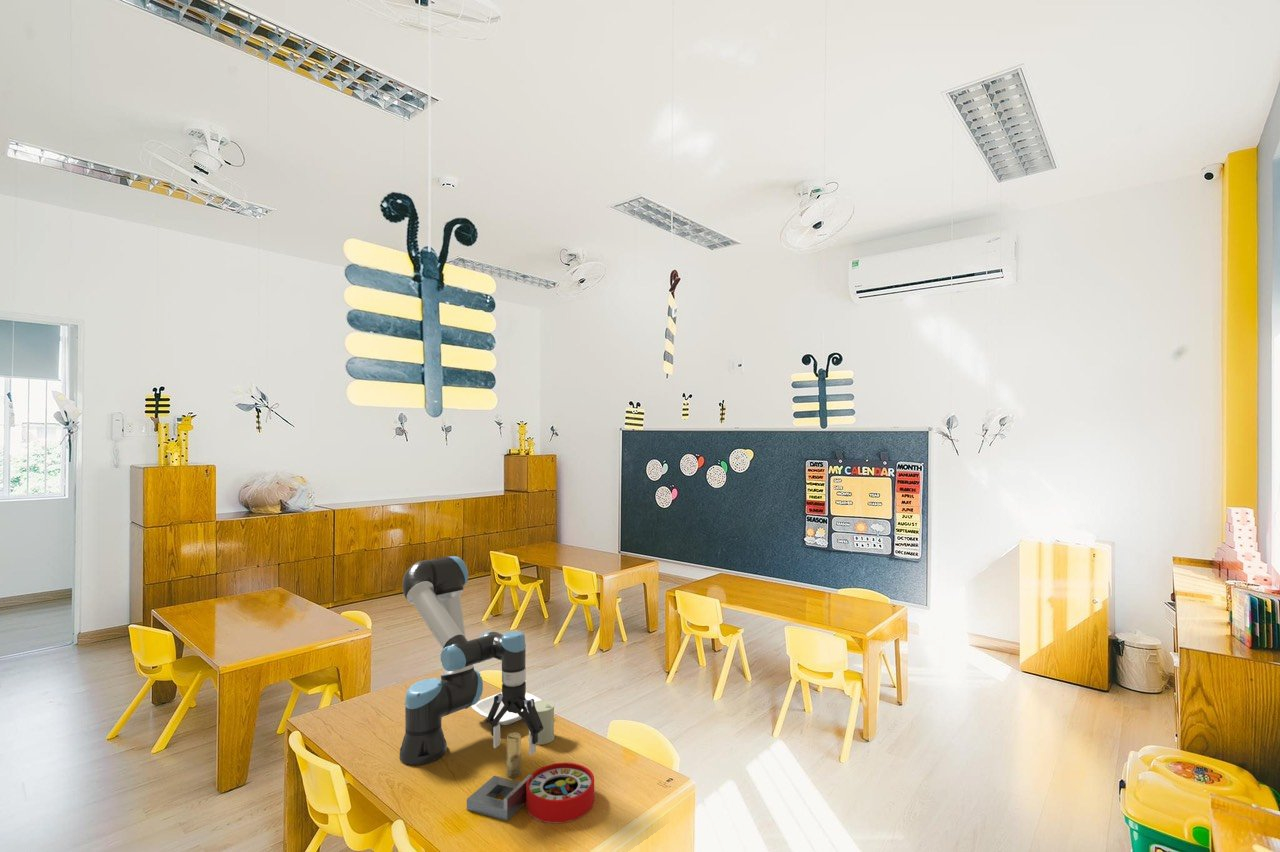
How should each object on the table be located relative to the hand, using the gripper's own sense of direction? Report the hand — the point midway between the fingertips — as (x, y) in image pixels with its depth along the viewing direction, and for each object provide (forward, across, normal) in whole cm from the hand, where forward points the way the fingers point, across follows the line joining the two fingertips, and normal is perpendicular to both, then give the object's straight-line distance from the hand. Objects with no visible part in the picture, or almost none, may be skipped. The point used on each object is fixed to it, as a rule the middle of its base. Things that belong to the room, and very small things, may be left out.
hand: (514, 749), depth 187 cm
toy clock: (+8, +21, -7) cm, 23 cm away
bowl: (+8, -24, +31) cm, 40 cm away
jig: (+8, +4, -14) cm, 17 cm away
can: (+8, -4, +23) cm, 25 cm away
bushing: (+8, 0, 0) cm, 8 cm away
